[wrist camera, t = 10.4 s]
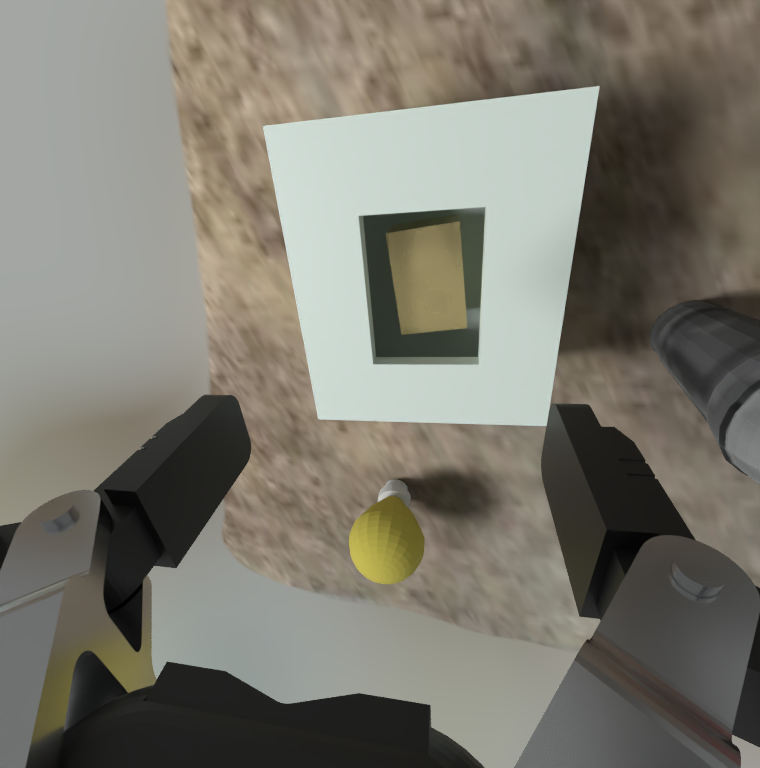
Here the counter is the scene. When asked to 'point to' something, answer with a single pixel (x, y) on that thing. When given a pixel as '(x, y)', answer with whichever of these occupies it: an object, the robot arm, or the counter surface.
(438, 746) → the robot arm
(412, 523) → the light bulb
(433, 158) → the box
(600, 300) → the counter surface
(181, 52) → the counter surface
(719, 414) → the beverage cup
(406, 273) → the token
